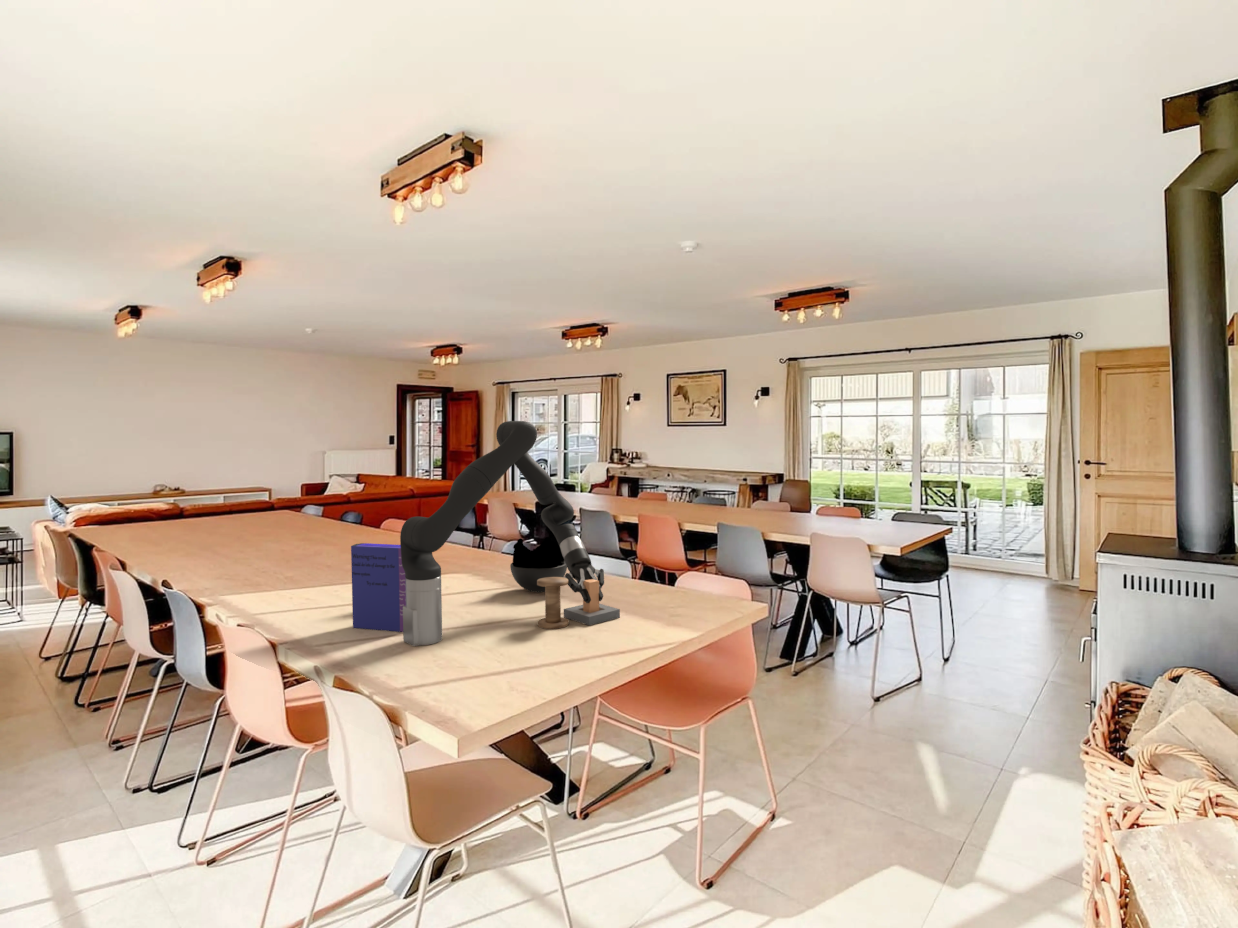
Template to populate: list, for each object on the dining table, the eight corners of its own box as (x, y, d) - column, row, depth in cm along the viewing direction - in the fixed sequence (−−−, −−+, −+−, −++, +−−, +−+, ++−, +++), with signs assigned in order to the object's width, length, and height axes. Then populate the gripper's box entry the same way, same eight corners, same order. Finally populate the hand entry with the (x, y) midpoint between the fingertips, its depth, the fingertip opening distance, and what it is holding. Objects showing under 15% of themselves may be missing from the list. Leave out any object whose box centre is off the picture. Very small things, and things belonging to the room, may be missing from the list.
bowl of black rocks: (578, 589, 232) (578, 537, 231) (543, 601, 215) (543, 545, 214) (535, 582, 243) (534, 533, 242) (498, 593, 226) (497, 540, 225)
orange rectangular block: (589, 615, 193) (589, 582, 193) (583, 613, 196) (582, 580, 196) (599, 613, 195) (599, 580, 195) (592, 611, 198) (592, 578, 198)
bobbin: (549, 630, 182) (549, 585, 181) (531, 624, 188) (530, 580, 188) (574, 624, 188) (574, 580, 187) (556, 618, 194) (555, 575, 194)
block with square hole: (589, 625, 187) (589, 616, 187) (563, 617, 196) (563, 608, 196) (619, 617, 195) (619, 609, 195) (593, 609, 204) (593, 601, 204)
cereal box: (415, 627, 186) (414, 544, 185) (406, 632, 181) (404, 547, 180) (363, 623, 190) (361, 542, 189) (352, 628, 186) (351, 545, 185)
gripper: (558, 549, 197) (578, 597, 187) (598, 544, 205) (619, 590, 195) (550, 563, 202) (569, 611, 192) (590, 558, 209) (610, 604, 200)
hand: (594, 600), depth 194 cm, fingers closed on orange rectangular block, 3 cm apart
